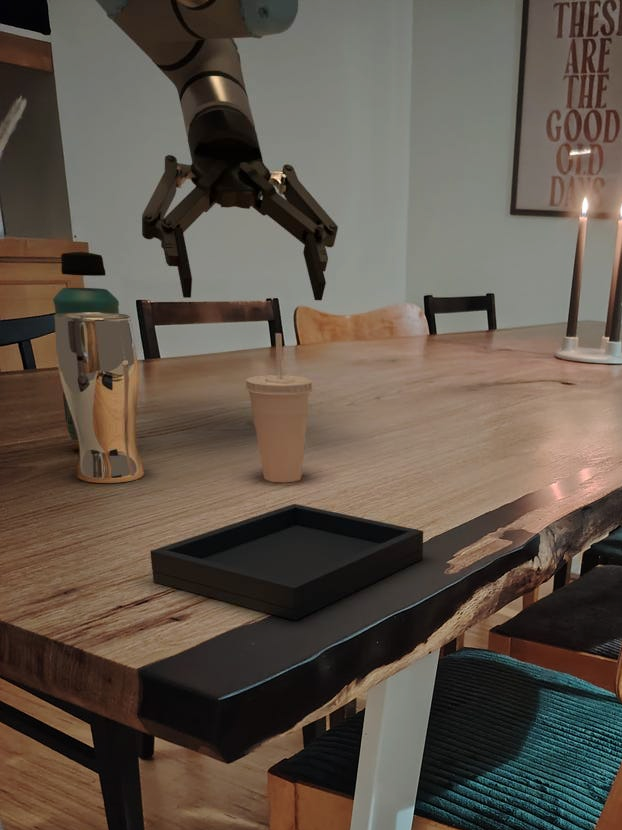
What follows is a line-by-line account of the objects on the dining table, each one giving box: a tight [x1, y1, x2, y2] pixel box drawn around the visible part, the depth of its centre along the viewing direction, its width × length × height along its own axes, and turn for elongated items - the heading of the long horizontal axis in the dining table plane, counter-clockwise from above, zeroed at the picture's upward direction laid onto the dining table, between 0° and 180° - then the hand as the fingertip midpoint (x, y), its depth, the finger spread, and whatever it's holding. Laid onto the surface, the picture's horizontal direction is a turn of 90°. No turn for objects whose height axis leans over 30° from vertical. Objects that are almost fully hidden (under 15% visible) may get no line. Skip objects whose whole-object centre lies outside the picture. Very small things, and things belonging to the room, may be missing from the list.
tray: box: [150, 503, 424, 622], centre depth 68 cm, size 16×13×2 cm
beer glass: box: [53, 312, 145, 484], centre depth 88 cm, size 7×7×15 cm
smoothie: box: [245, 332, 314, 483], centre depth 91 cm, size 6×6×14 cm
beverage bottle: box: [52, 251, 120, 441], centre depth 97 cm, size 6×7×20 cm
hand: (255, 290), depth 96 cm, fingers open, 13 cm apart
